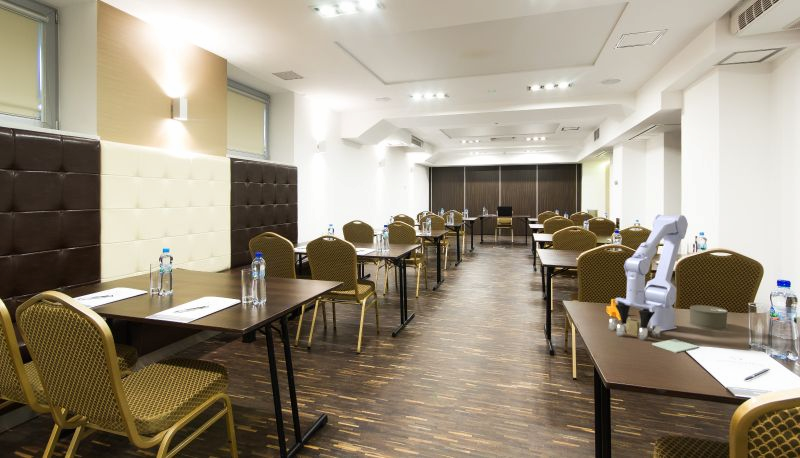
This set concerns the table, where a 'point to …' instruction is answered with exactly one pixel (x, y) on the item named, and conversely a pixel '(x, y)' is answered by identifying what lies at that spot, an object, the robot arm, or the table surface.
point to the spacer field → (642, 330)
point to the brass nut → (633, 326)
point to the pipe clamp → (613, 309)
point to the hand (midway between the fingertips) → (633, 326)
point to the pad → (674, 345)
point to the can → (708, 317)
